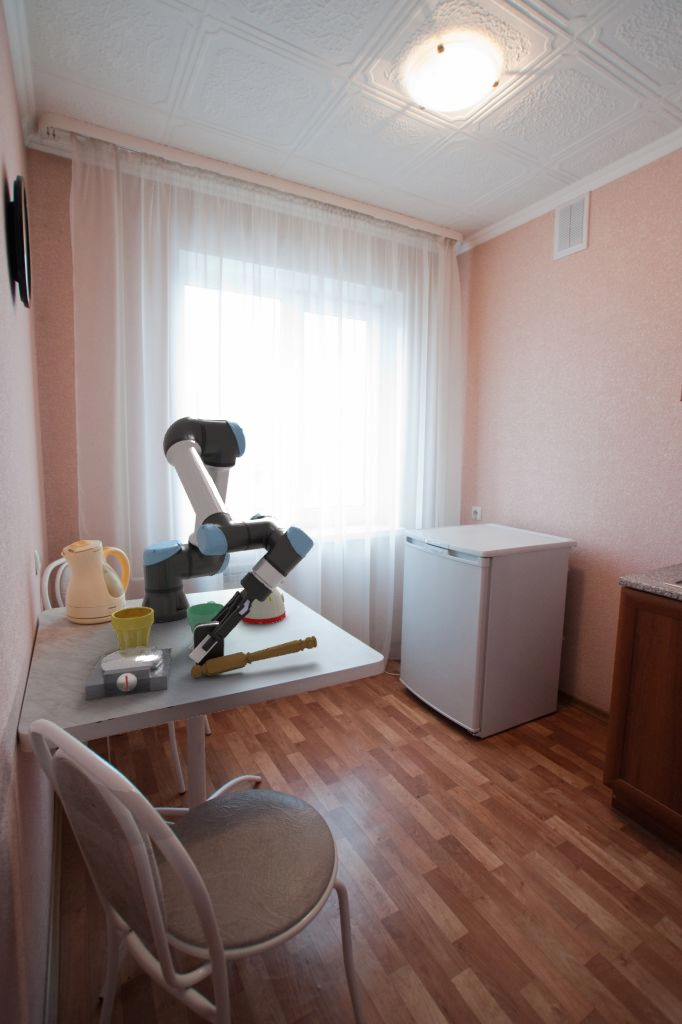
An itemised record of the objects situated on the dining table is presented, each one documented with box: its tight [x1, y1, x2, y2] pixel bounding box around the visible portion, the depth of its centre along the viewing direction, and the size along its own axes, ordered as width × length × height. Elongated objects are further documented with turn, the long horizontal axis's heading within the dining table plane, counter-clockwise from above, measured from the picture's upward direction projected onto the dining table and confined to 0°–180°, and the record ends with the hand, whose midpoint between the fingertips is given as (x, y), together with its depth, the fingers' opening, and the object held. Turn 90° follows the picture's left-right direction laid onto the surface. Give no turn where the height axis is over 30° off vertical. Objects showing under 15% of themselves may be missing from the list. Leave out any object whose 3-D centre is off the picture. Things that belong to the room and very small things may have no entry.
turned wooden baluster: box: [190, 635, 318, 679], centre depth 113 cm, size 3×3×30 cm
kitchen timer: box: [241, 587, 286, 625], centre depth 150 cm, size 14×14×15 cm
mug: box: [186, 600, 225, 635], centre depth 130 cm, size 15×10×10 cm
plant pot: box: [110, 606, 155, 650], centre depth 126 cm, size 10×10×10 cm
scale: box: [84, 645, 173, 701], centre depth 109 cm, size 16×16×5 cm
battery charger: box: [192, 621, 225, 666], centre depth 113 cm, size 7×4×11 cm, turn 110°
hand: (193, 654), depth 112 cm, fingers open, 5 cm apart
